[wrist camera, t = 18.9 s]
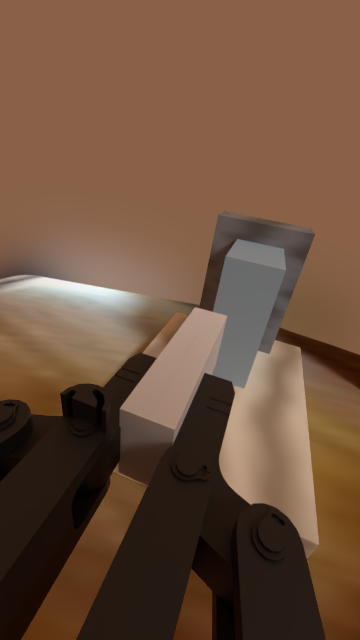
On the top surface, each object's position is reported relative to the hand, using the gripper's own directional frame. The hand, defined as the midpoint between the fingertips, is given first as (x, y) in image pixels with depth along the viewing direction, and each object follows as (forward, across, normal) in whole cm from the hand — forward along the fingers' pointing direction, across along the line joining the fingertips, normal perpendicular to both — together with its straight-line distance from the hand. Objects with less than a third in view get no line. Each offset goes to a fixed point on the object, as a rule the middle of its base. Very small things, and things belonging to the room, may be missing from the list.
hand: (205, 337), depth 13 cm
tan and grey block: (+12, 0, -14) cm, 19 cm away
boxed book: (+16, 0, -12) cm, 21 cm away
